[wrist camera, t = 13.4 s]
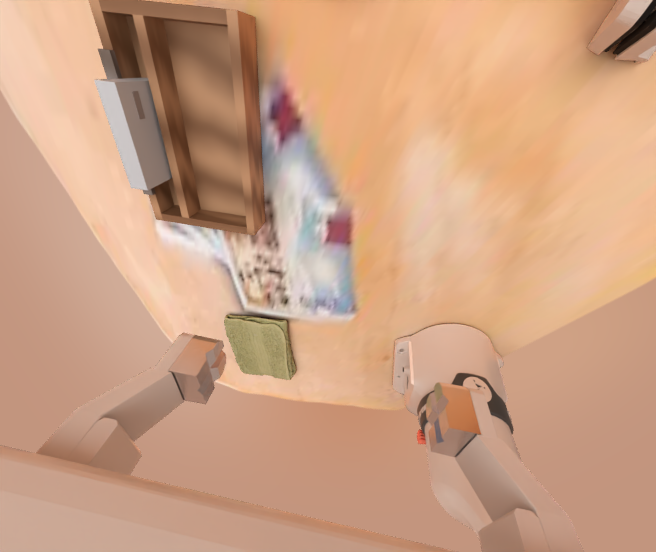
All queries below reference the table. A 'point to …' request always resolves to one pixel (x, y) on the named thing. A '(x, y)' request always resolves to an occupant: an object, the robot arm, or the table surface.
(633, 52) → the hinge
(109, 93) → the rectangular block
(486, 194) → the table surface
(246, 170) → the wooden tray
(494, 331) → the table surface
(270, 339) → the washcloth
